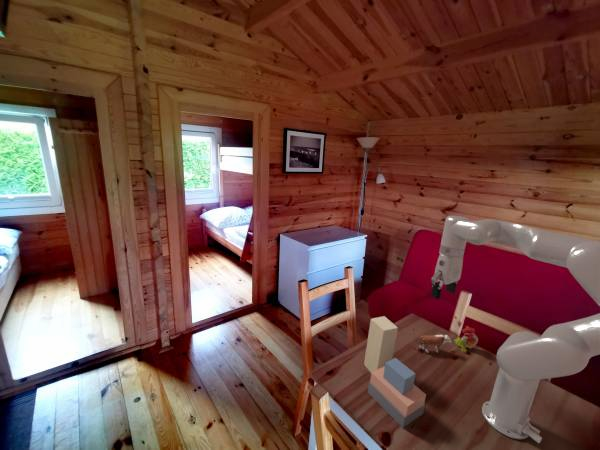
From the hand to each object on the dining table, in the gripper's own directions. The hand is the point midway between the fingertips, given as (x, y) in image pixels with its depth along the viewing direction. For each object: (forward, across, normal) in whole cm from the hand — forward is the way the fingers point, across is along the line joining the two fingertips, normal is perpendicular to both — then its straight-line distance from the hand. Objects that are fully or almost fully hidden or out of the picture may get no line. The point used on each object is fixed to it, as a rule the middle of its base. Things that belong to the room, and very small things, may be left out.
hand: (442, 294), depth 100 cm
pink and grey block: (+33, -24, -3) cm, 41 cm away
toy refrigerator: (+33, -18, +10) cm, 39 cm away
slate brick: (+25, -24, -3) cm, 35 cm away
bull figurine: (+33, +13, +6) cm, 36 cm away
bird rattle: (+33, +28, 0) cm, 44 cm away
